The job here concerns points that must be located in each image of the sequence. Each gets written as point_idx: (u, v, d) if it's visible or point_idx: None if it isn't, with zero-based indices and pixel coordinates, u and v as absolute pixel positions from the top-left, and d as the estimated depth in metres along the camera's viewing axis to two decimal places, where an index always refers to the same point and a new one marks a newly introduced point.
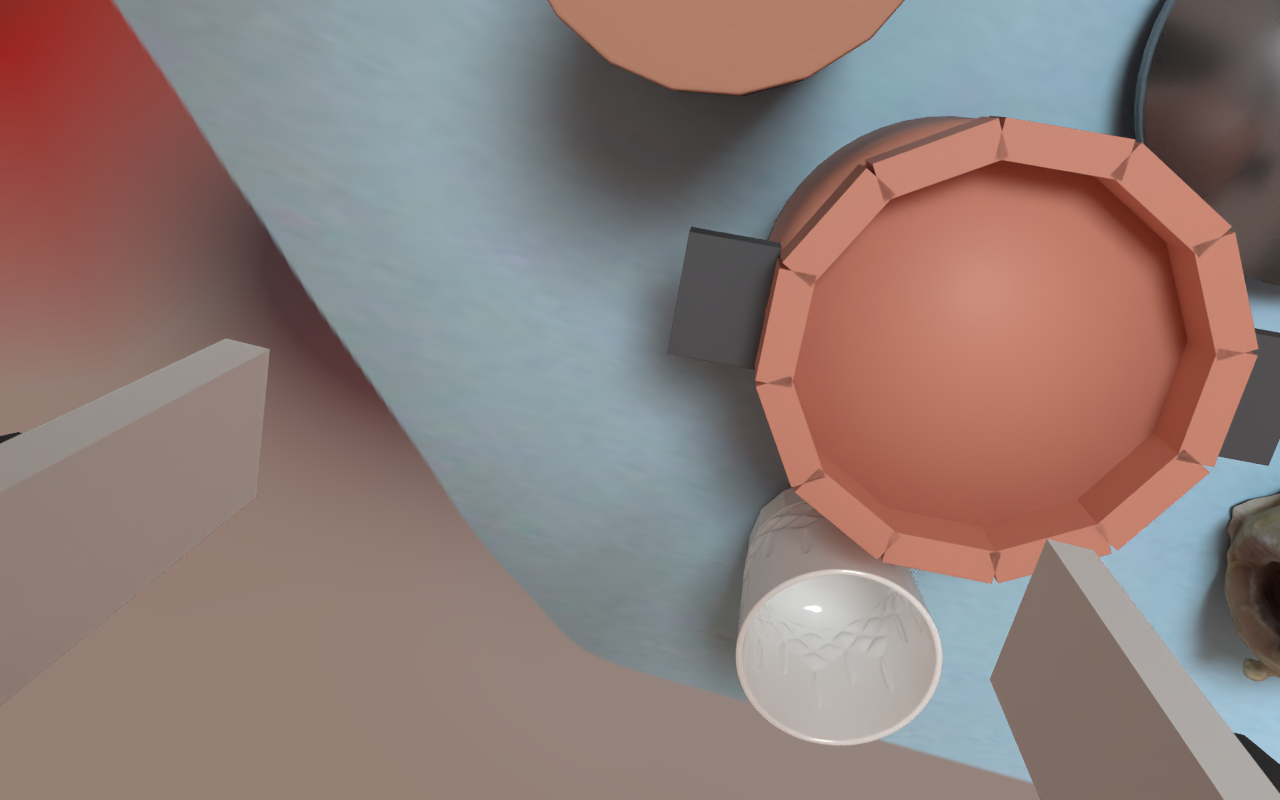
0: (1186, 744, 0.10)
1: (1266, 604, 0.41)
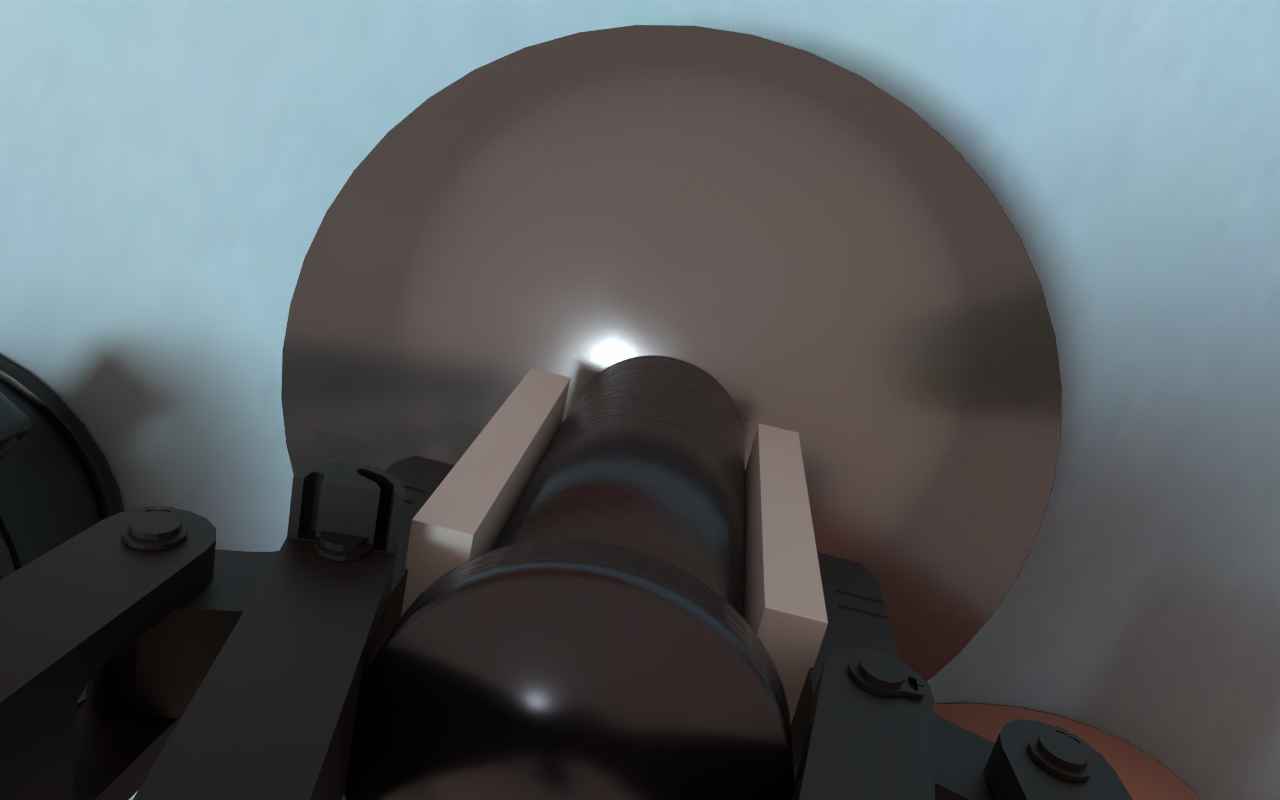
0: (765, 548, 0.12)
1: None
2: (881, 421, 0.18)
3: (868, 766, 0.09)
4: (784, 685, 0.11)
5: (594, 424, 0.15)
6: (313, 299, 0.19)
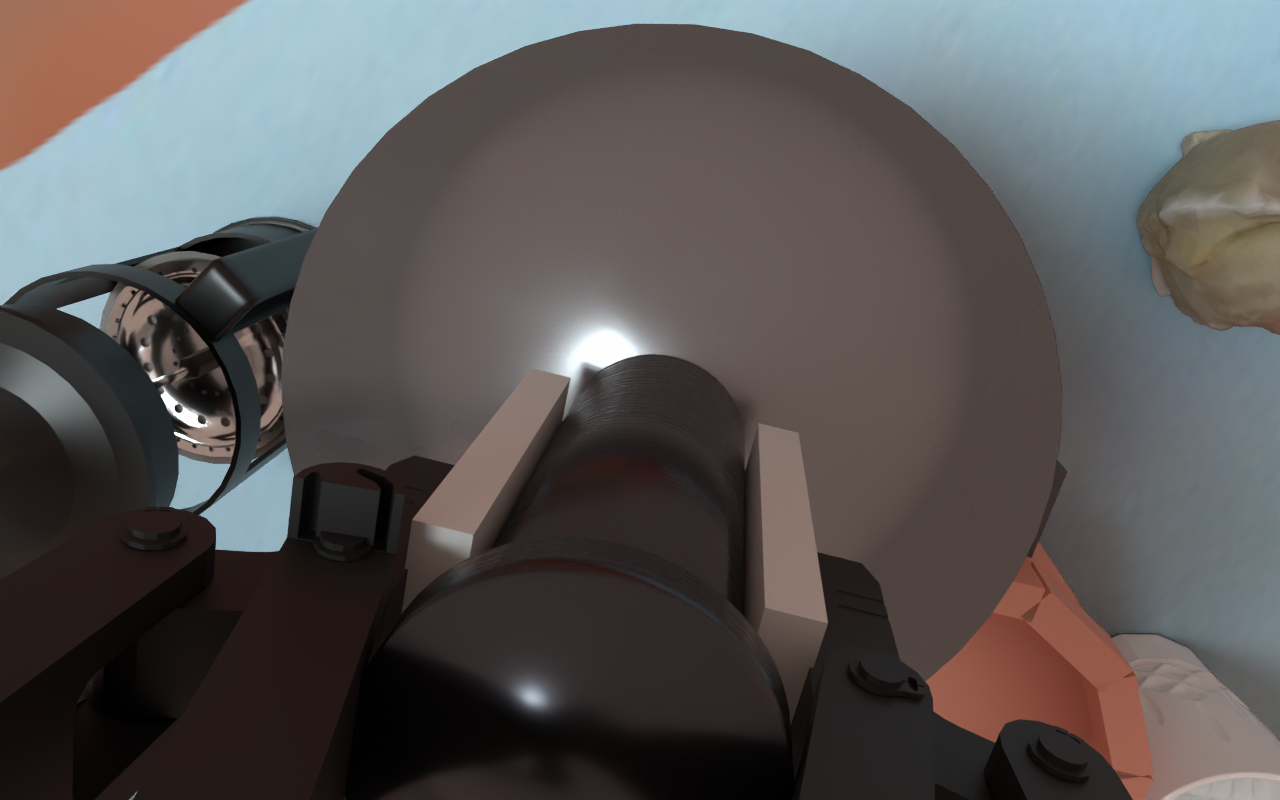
0: (765, 548, 0.12)
1: None
2: (881, 421, 0.18)
3: (868, 766, 0.09)
4: (784, 685, 0.11)
5: (594, 423, 0.15)
6: (313, 298, 0.19)
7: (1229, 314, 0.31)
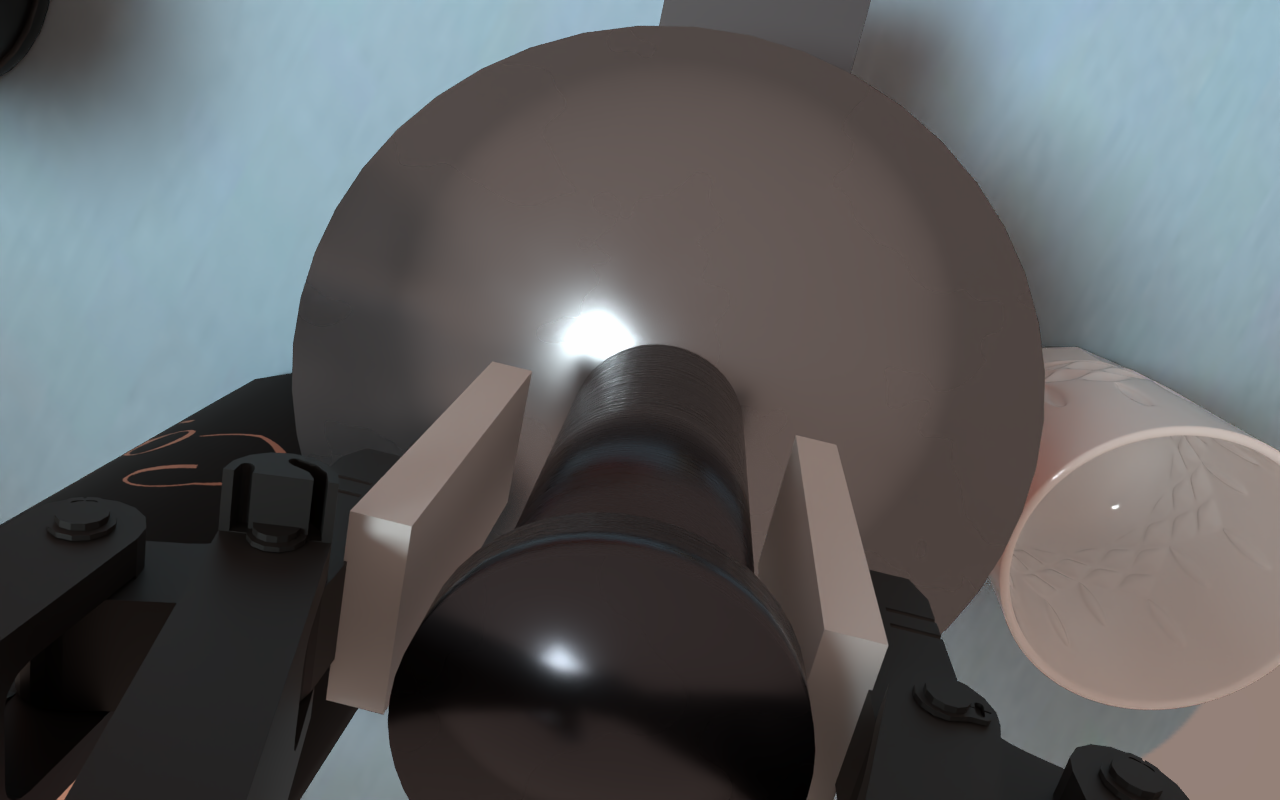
0: (816, 566, 0.12)
1: None
2: (874, 406, 0.19)
3: (932, 791, 0.09)
4: (842, 707, 0.11)
5: (606, 409, 0.15)
6: (323, 292, 0.19)
7: None
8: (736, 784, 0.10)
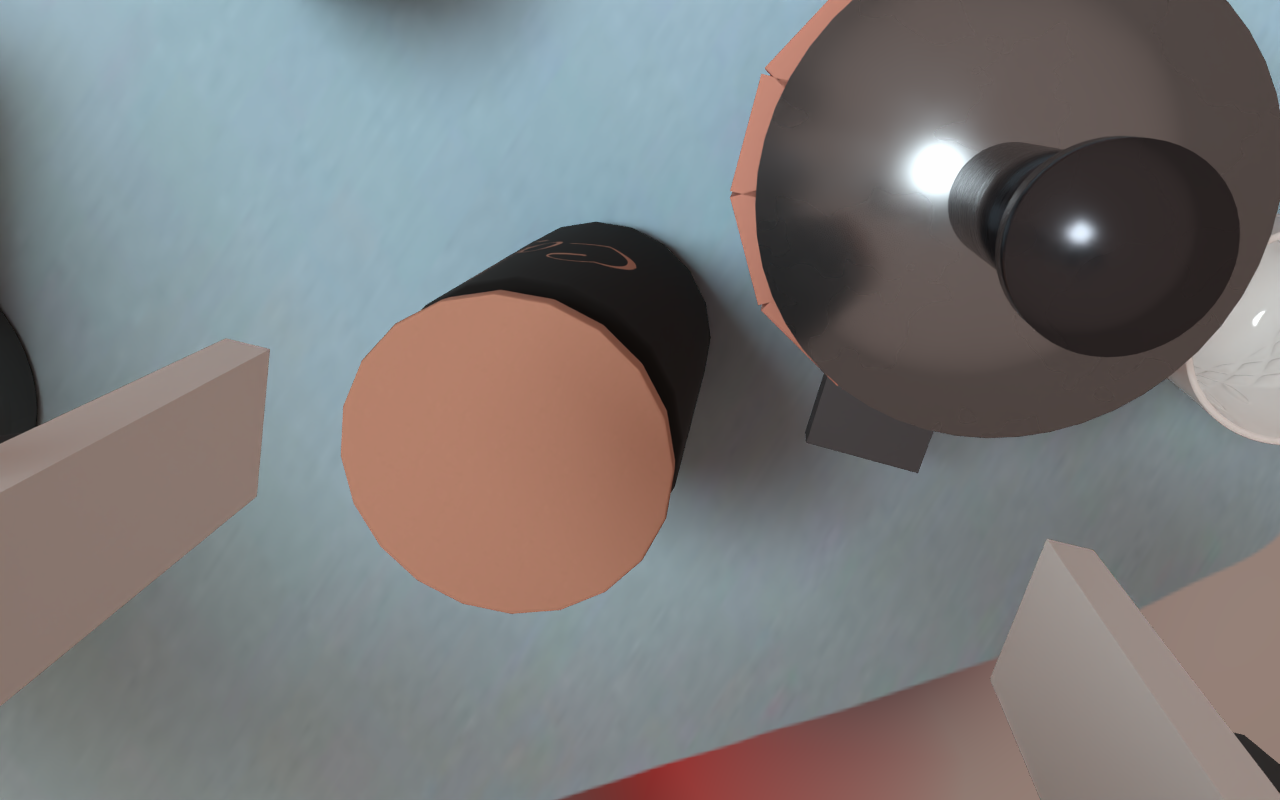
0: (1186, 744, 0.10)
1: None
2: None
3: None
4: None
5: (1028, 151, 0.25)
6: (791, 104, 0.29)
7: None
8: (1191, 272, 0.20)
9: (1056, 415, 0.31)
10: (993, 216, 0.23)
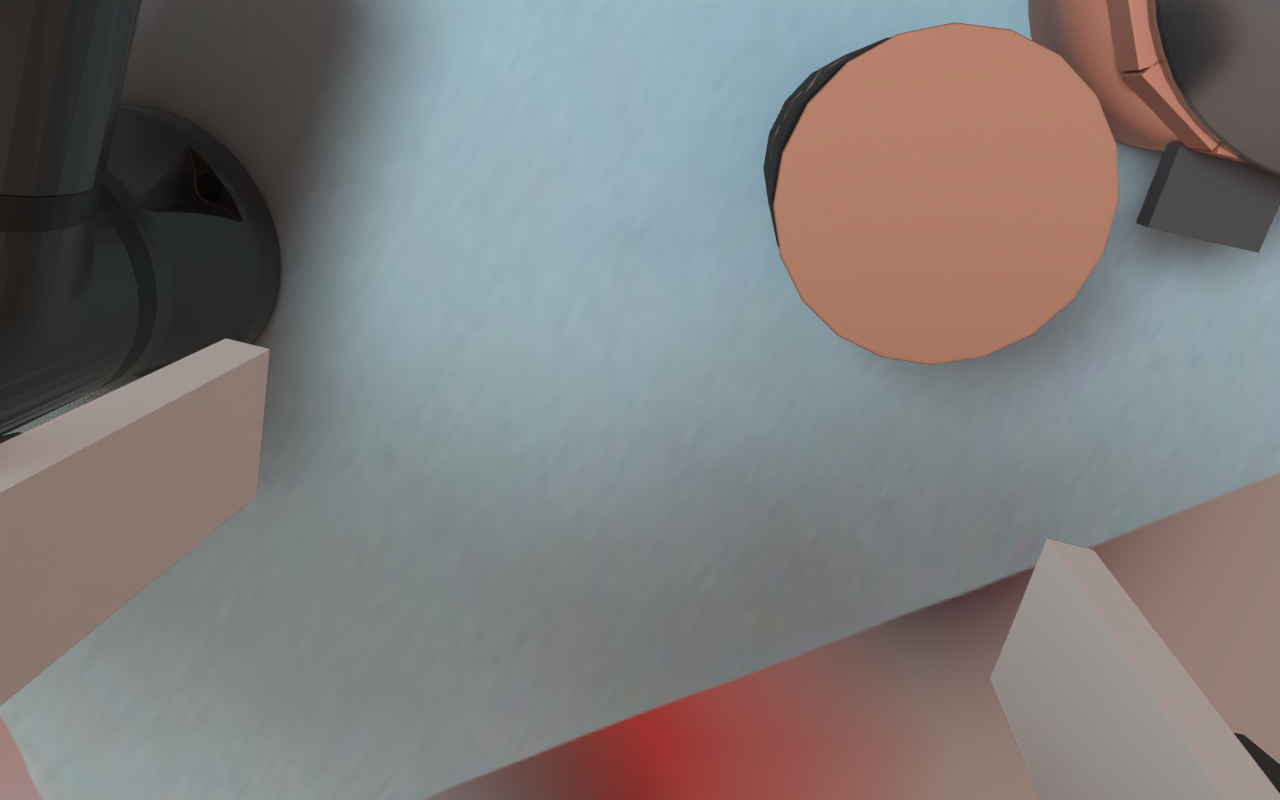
0: (1186, 744, 0.10)
1: None
2: None
3: None
4: None
5: None
6: None
7: None
8: None
9: None
10: None
